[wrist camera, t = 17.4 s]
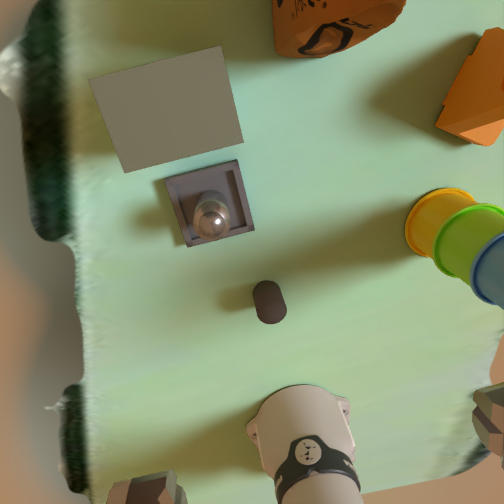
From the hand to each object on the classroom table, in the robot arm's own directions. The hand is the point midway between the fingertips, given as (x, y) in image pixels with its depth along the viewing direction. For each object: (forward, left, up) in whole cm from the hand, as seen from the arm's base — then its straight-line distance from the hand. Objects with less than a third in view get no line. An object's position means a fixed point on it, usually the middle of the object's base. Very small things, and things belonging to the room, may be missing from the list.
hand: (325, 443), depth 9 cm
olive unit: (+8, +4, -37) cm, 38 cm away
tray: (-3, +4, -37) cm, 37 cm away
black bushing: (-18, 0, -37) cm, 41 cm away
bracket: (+2, -31, -37) cm, 49 cm away
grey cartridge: (-3, +4, -36) cm, 37 cm away
